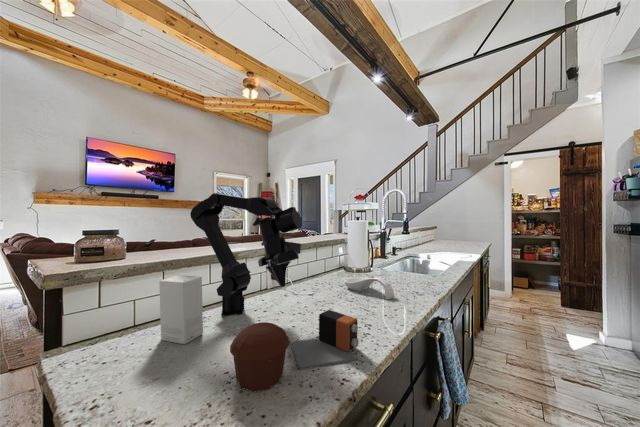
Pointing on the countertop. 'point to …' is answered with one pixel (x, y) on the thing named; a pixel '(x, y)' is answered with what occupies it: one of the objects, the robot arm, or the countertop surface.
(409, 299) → the countertop surface
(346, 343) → the battery
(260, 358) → the muffin
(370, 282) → the spoon rest
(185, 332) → the skincare box
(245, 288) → the robot arm
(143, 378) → the countertop surface
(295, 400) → the countertop surface
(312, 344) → the rubber mat
